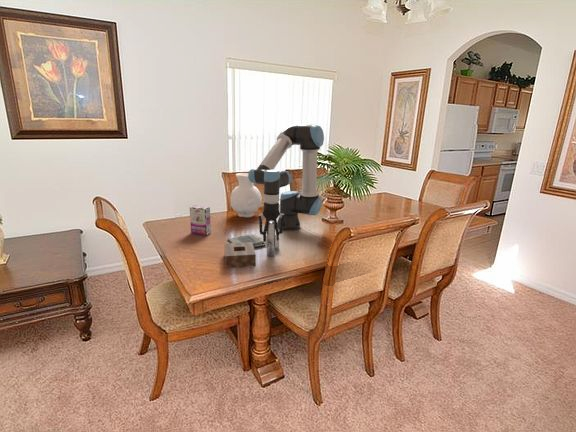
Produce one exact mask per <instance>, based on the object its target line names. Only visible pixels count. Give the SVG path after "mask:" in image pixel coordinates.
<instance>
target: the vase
mask: <svg viewBox="0 0 576 432" xmlns="http://www.w3.org/2000/svg"><path fill="white" fill-rule="evenodd" d="M248 174H249V172H248V173H247V172H239V173H236V174H235V177H236V179H237V182H238V185H237V186H235V187H234V189H233V190H232V191H231V193H230V205H231V208H232V210H234V211H235V212H236V213H237V215H238V217H240V218H252V217H254V216H255V212H256V211H258V210H259V208H260V206H261V205H262V201H263V200H262V199H263V198H262V194H261V192H260V190H259V189H258V187H256V186H255V185H254V184H255V183H251V182H250V181H249V178H248Z"/></svg>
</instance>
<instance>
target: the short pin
mask: <svg viewBox="0 0 576 432" xmlns="http://www.w3.org/2000/svg"><path fill="white" fill-rule="evenodd" d="M279 250H280V239H279V240H278V241H277V247H275V251H279Z"/></svg>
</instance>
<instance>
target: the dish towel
mask: <svg viewBox="0 0 576 432" xmlns="http://www.w3.org/2000/svg"><path fill="white" fill-rule="evenodd" d="M227 242H229V243H247V242H252V244H253V247H254V250H255V249H261V248H265V241H264V240H263V237H261V236H259V235H258V234H256V233H252V234H246V235H240V236H235V237H231V238H227ZM260 247H261V248H260Z"/></svg>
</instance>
